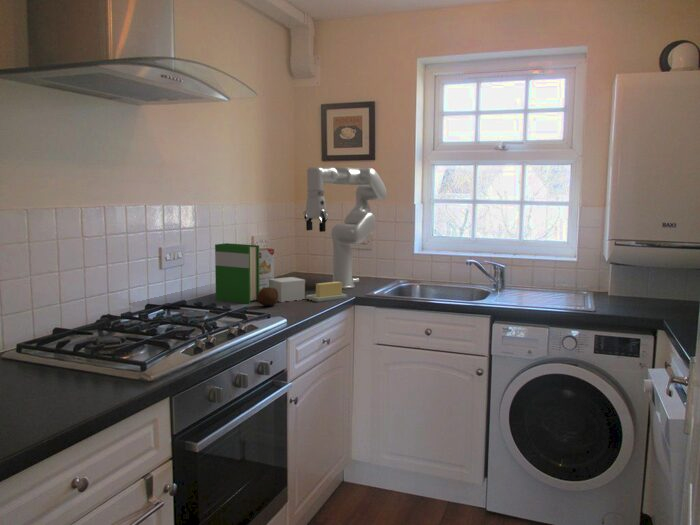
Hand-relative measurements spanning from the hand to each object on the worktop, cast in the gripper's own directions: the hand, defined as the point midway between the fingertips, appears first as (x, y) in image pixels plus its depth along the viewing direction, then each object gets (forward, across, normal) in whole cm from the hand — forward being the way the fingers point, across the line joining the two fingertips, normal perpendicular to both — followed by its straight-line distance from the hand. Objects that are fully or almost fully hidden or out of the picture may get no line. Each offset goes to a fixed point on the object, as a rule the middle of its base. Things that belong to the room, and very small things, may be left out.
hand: (315, 230), depth 266 cm
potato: (+28, -15, +38) cm, 50 cm away
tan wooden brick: (+28, -18, +7) cm, 34 cm away
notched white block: (+28, -7, +22) cm, 37 cm away
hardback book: (+28, +4, +40) cm, 49 cm away
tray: (+29, -17, +8) cm, 34 cm away
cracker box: (+29, +11, +25) cm, 40 cm away
